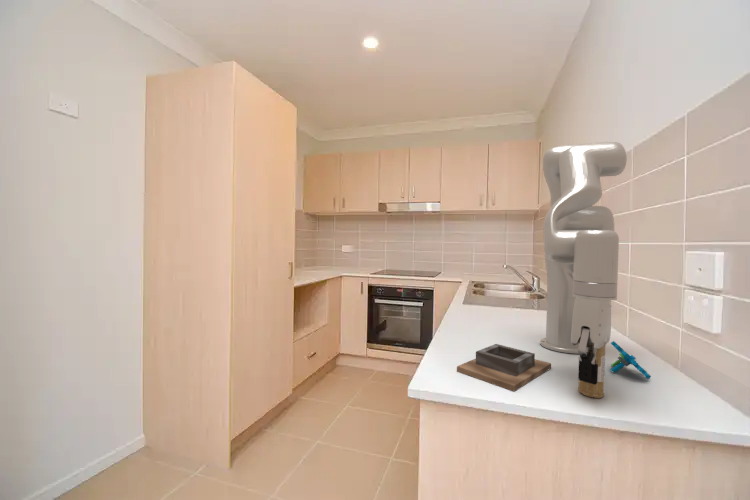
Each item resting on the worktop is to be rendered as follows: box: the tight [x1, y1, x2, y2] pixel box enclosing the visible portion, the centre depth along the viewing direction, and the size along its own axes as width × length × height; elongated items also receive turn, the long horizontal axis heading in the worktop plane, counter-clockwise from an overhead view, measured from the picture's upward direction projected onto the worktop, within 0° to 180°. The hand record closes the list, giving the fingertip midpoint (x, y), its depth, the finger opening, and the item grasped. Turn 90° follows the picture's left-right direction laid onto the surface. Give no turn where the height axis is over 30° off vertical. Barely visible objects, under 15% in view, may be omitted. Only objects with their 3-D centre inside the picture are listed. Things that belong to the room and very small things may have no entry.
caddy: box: [456, 343, 552, 392], centre depth 80 cm, size 20×14×4 cm
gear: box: [610, 340, 652, 380], centre depth 79 cm, size 11×6×10 cm
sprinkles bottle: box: [577, 337, 607, 399], centre depth 67 cm, size 5×5×13 cm
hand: (591, 377), depth 68 cm, fingers closed on sprinkles bottle, 4 cm apart
